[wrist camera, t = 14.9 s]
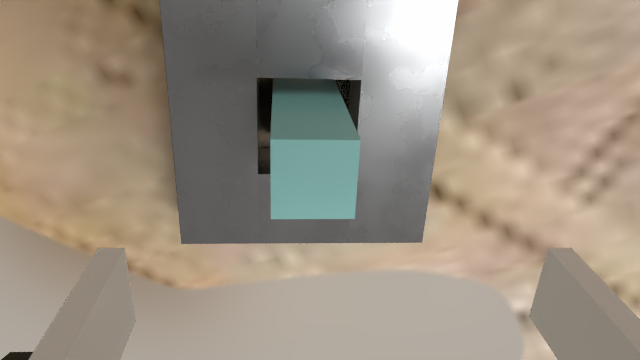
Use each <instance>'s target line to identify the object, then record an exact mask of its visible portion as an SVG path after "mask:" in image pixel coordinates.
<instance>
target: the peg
mask: <svg viewBox="0 0 640 360" xmlns="http://www.w3.org/2000/svg"><path fill="white" fill-rule="evenodd" d="M360 143H361V140H360V137H359V135H358V133H357V131H356V128H355V126H354V124H353V121H352V119H351V117H350V114H349V112H348V110H347V107H346V105H345V103H344V100H343V98H342V96H341V94H340V91H339V89H338V87H337V84H336V82H335V80H334V79H298V78H273V94H272V115H271V136H270V168H271V219H355V209H356V196H357V182H358V169H359V156H360Z"/></svg>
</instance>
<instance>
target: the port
mask: <svg viewBox="0 0 640 360" xmlns="http://www.w3.org/2000/svg"><path fill="white" fill-rule="evenodd" d="M159 1H160V12H161V23H162V34H163V45H164V56H165V67H166V78H167V89H168V100H169V111H170V122H171V133H172V144H173V155H174V166H175V177H176V189H177V200H178V211H179V222H180V233H181V244H220V243H416V242H422V238H423V231H424V225H425V218H426V211H427V205H428V198H429V191H430V185H431V178H432V172H433V165H434V158H435V152H436V145H437V138H438V132H439V125H440V118H441V112H442V105H443V98H444V92H445V85H446V78H447V72H448V65H449V58H450V52H451V45H452V38H453V32H454V25H455V18H456V12H457V5H458V0H159ZM260 78H298V79H340V80H350V88H349V103H348V112H349V114H350V117H351V119H352V121H353V124H354V126H355V128H356V131H357V133H358V135H359V137H360V140H361V143H360V156H359V169H358V182H357V196H356V209H355V219H271V168H270V148H260Z"/></svg>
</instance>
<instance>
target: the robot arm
mask: <svg viewBox="0 0 640 360" xmlns="http://www.w3.org/2000/svg"><path fill="white" fill-rule="evenodd" d="M529 317H530V318H531V320H532V321H533V323H534V324H535V326H536V327H537V329H538V330H539V332H540V333H541V335H542V336H543V338H544V339H545V341H546V342H547V344H548V345H549V347H550V348H551V350H552V351H553V353H554V354H555V356H556V357H557V359H558V360H640V319H639V318H638V317H637V316H636V315H635V314H634V313H633V312H632V311H631V310H630V309H629V308H628V307H627V306H626V304H625V303H624V302H623V301H622V300H621V299H620V298H619V297H618V296H617V295H616V294H615V293H614V292H613V291H612V290H611V289H610V288H609V287H608V286H607V285H606V284H605V283H604V282H603V280H602V279H601V278H600V277H599V276H598V275H597V274H596V273H595V272H594V271H593V270H592V269H591V268H590V267H589V266H588V265H587V264H586V263H585V262H584V261H583V260H582V259H581V258H580V256H579V255H578V254H577V253H576V252H575V251H574V250H573V249H572V248H548V251H547V254H546V258H545V262H544V265H543V269H542V272H541V276H540V279H539V283H538V286H537V290H536V293H535V297H534V300H533V304H532V308H531V311H530V315H529ZM135 321H136V320H135V313H134V306H133V300H132V294H131V286H130V280H129V273H128V266H127V260H126V253H125V248H98V249H97V251H96V253H95V254H94V256H93V257H92V259H91V261H90V262H89V264H88V266H87V267H86V269H85V270H84V272H83V273H82V275H81V277H80V278H79V280H78V281H77V283H76V285H75V286H74V288H73V289H72V291H71V292H70V294H69V296H68V297H67V299H66V300H65V302H64V304H63V305H62V307H61V308H60V310H59V312H58V313H57V315H56V317H55V318H54V320H53V322H52V323H51V324H50V326H49V328H48V329H47V331H46V333H45V334H44V336H43V337H42V339H41V341H40V342H39V344H38V345H37V347H36V349H35V350H34V352H10V353H9V354H8V355H6V356H5V357H4V358H3V359H2V360H120V358H121V356H122V353H123V351H124V348H125V346H126V343H127V341H128V338H129V336H130V333H131V331H132V328H133V326H134V323H135Z"/></svg>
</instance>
